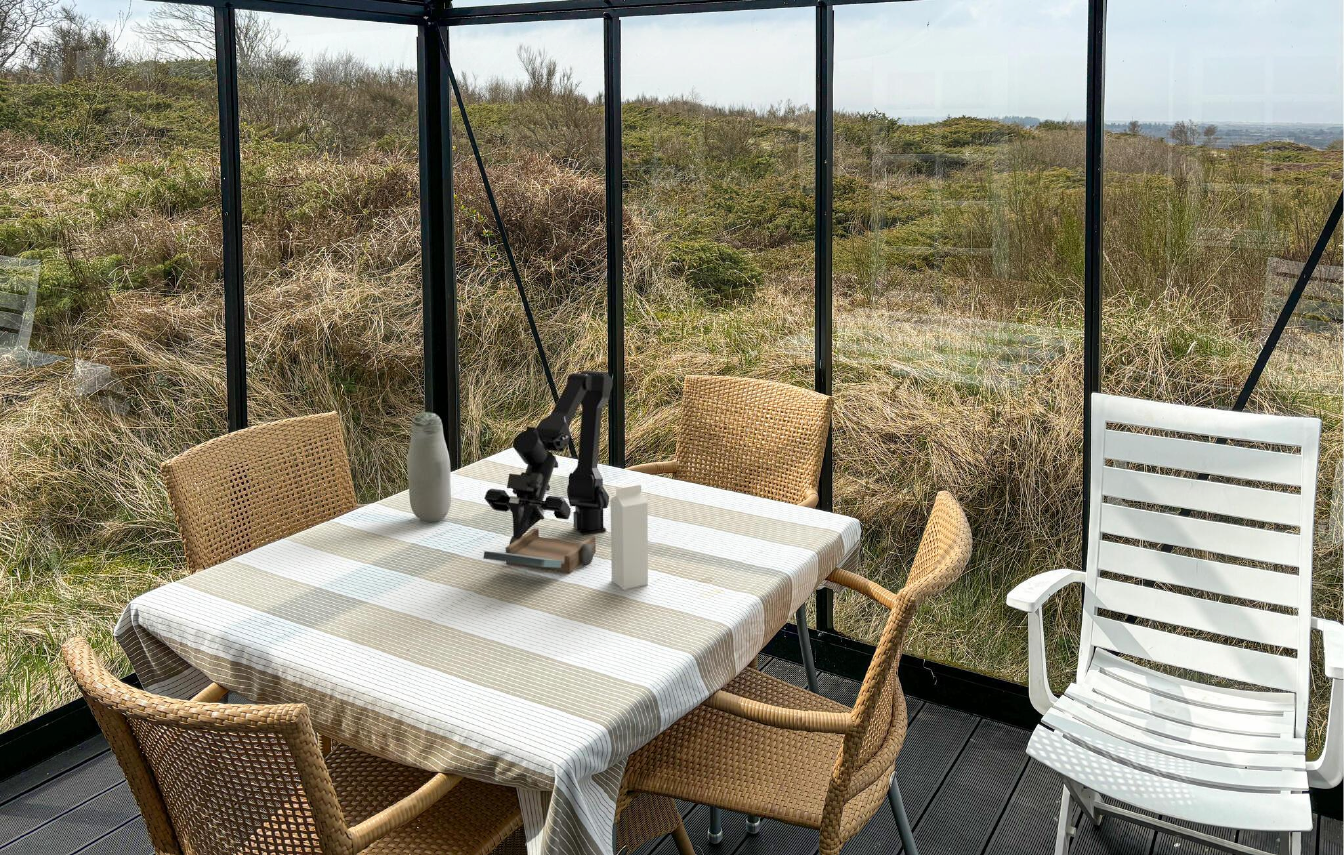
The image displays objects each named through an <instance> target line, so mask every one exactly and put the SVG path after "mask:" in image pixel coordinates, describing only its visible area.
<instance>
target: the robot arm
mask: <svg viewBox="0 0 1344 855" xmlns="http://www.w3.org/2000/svg"><path fill="white" fill-rule="evenodd" d="M613 381H614V380H613V377H611V376H610V374H609V373H608V372H607V371H598V370H597V371H595V370H582V371H581V372H580V373H578V372H577V373H576V372H572V373H569V375H568V376H567V380H566V385H565V386H564V388H563V390H562V392H561V393H560V395H559V398H558V399H557V402H556V404H554V405H555V406H554V407H553V409H552V411H551V413H550V414H549V415H547V416H546V417H545V418H543V419H541V420H540V422H539V423H538V425H537V426H526V430H523V431H521V432H519V433H518V434H517V435H516V436H515V437H514V438H513V441H512V445H513V447H512V448H513V449H514V450H515V452H516V453H517V454H518V456H519V457H520V458H521V460H522V461H523V463H524V464H526V465H527V466H526V469H525V472H523V471H522V472H521V473H520V474H517V473H508V479H507V485H506V489H512V493H513V494H514V495H509V494H508V493H507V492H506V491H505V490H504V489H497V488H490V489H488V490H487V491H486V493H485V495H484V500H485V502H487V504H488V505H489V506H490V507H491V509H492V510H494V511H497V512H499V511H500V512H505V513H507V512H508V511H510V512H511V514H512V515H511V516H512V526H513V527H512V536H513V537H514V539H517V540H518V539H519V538H520V537H521V536H523V535H525V534H526V533H528V532H529V530H530V529H531V528H532V527H533V526H534V525H535V524H537V523H538V522H539V521H540V520H542V521H543V520H544V519H545V516H544V515H545V512H546V511H552V512H553V515H554V517H555V518H556V519H559V520H569V518H570V516H571V512H572V511H571V510H572V509H571V507H574V508H575V509H574V510H575V511H574V512H572V513H573V514H572V515H573V517H572V518H573V526H572V527H573V528H574V529H575V530H576V531H577V532H578V533H579V534H580V535H588V534H594V533H596V534H597V533H603V532H607V528H606V527H605V526H604V510H605V509H607V508H608V506H609V503H610V496H609V494H608V492H607V491H606V489H605V488H604V478H603V476H602V474H601V472H600V470H599V468H598V462H599V452H600V451H599V450H600V437H601V428H602V426H601V425H602V414H603V408H604V407H605V405H606V404H607V402H608V401H609V399H610V397H611V391H612V390H613V383H614V382H613ZM580 406H581V418H580V433H579V443H578V456H577V457H578V458H577V466H576V467H575V469H574V470H573V472H570V473H569V475H568V484H567V488H566V495H567V498H568V500H567V501H568V503H569V504H568V503H567V501H566V500H565V498H564V497H562V496H555V495H554V496H553V495H548V496H546V498H545V495H546V492H547V491H550V488H551V486H550V484H549V483H550V481H551V478H552V475H553V471H554V469H558V468H559V462H558V460H557V457H556V455H554V454H553V453H552V452H557V453H561V452H564V451H565V450H566V448H567V447H568V446H569V443H570V438H571V431H570V425H571V423H572V421H573V419H574V418H575V415H576V413H577V411H578V410H579V407H580ZM544 498H545V500H544Z"/></svg>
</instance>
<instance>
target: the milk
mask: <svg viewBox="0 0 1344 855" xmlns="http://www.w3.org/2000/svg"><path fill="white" fill-rule="evenodd" d="M615 493H616V494H615V496H613V497H612V498H610V546H611V548H610V550H611V552H610V554H611V555H610V558H611V559H610V560H611V561H610V562H611V581H612V582H613V583H614V584H615V585H617V586H618V587H619V588H621V589H622V590H624V591H625V590H630V589H634V588H635V589H636V588H638V587H639V588H641V587H644V586H647V585H649V567H648V566H649V561H648V560H649V553H648V550H649V549H648V548H649V547H648V545H649V544H648V541H649V540H648V537H649V535H648V528H649V527H648V521H649V520H648V501H647V499H646V497H645V496H644V494H643V492H642V486H641V485H640V484H636V485H630V486H625V487H619V488H617V489H616V492H615Z"/></svg>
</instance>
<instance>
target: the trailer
mask: <svg viewBox="0 0 1344 855" xmlns="http://www.w3.org/2000/svg"><path fill="white" fill-rule="evenodd" d="M539 531H540V530H539V528H537V527H536V528H535V527H534V528H532V529H531V530H528V531H527V532H526V533H525V534H524V535H523V536H521V537H520V538H519V539H518V540H517V539H514V537H513V535H512V536H511V538H510V540H509V543H508V544H509V545H507V546H506V547H505V553H510V554H517V555H524V556H531V557H538V558H545V559H552V560H560V561H562V563H561V568H559V567H538V566H531V565H525V564H518V563H511V562H505V564H506V565H509V566H516V567H517V566H518V567H523V568H529V569H530V568H531V569H536V570H543V571H550V572H555V573H556V572H557V573H563V574H564V573H565V574H569V575H570V574H571V573H572V572H574V571H575V570H576V569H577V568H578V567H579V566H581V565H582V564H583V565H590V564H591V563H592V561H593V559H594V554H596V552H597V551H596V546H597V545H596V544H597V543H596V535H595V536H594V535H590V536H589V537H587V538H586V539H585V540H583V541H582V542H580V541H572V540H565V539H559V538H558V539H557V538H550V537H544V536H543V537H542V536H539V535H540V534H539V533H540V532H539Z"/></svg>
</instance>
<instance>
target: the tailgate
mask: <svg viewBox="0 0 1344 855" xmlns="http://www.w3.org/2000/svg"><path fill="white" fill-rule="evenodd" d="M483 559H484V560H485V559H486V560H491V561H492V560H493V561H498V562H504V563H506V562H511V563H518V564H525V565H531V566H538V567H559V568H561V563H562V561H560V560H552V559H545V558H538V557H531V556H524V555H517V554H510V553H506V552H502V551H501V552H500V551H499V552H498V551H488V550H484V551H483Z"/></svg>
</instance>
